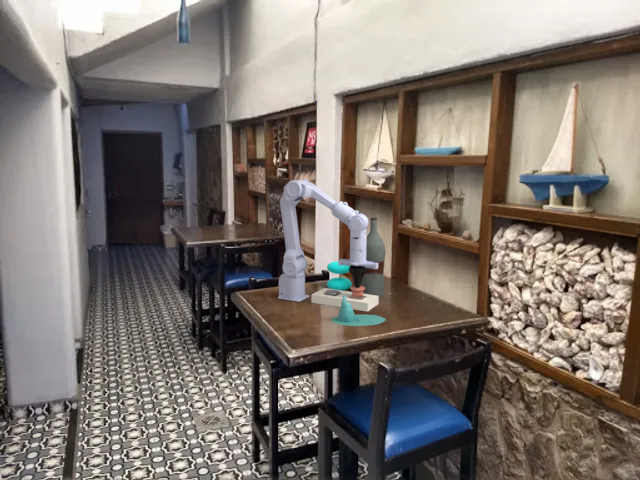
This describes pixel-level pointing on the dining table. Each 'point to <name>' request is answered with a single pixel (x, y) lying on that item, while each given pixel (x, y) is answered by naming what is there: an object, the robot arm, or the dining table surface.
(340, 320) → the teal witch hat
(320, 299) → the socket block
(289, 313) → the dining table surface
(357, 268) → the robot arm
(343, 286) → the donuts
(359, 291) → the red plug
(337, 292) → the grey plug
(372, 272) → the bottle
